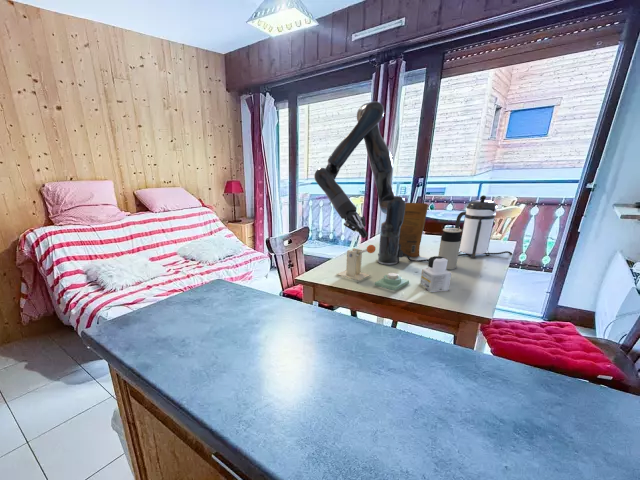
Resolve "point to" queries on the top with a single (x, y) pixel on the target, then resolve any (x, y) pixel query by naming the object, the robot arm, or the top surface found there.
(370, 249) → the switch lever
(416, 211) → the pancake mix bag
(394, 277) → the button
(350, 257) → the switch bracket
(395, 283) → the button box
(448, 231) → the travel mug
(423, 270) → the container
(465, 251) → the coffee press
